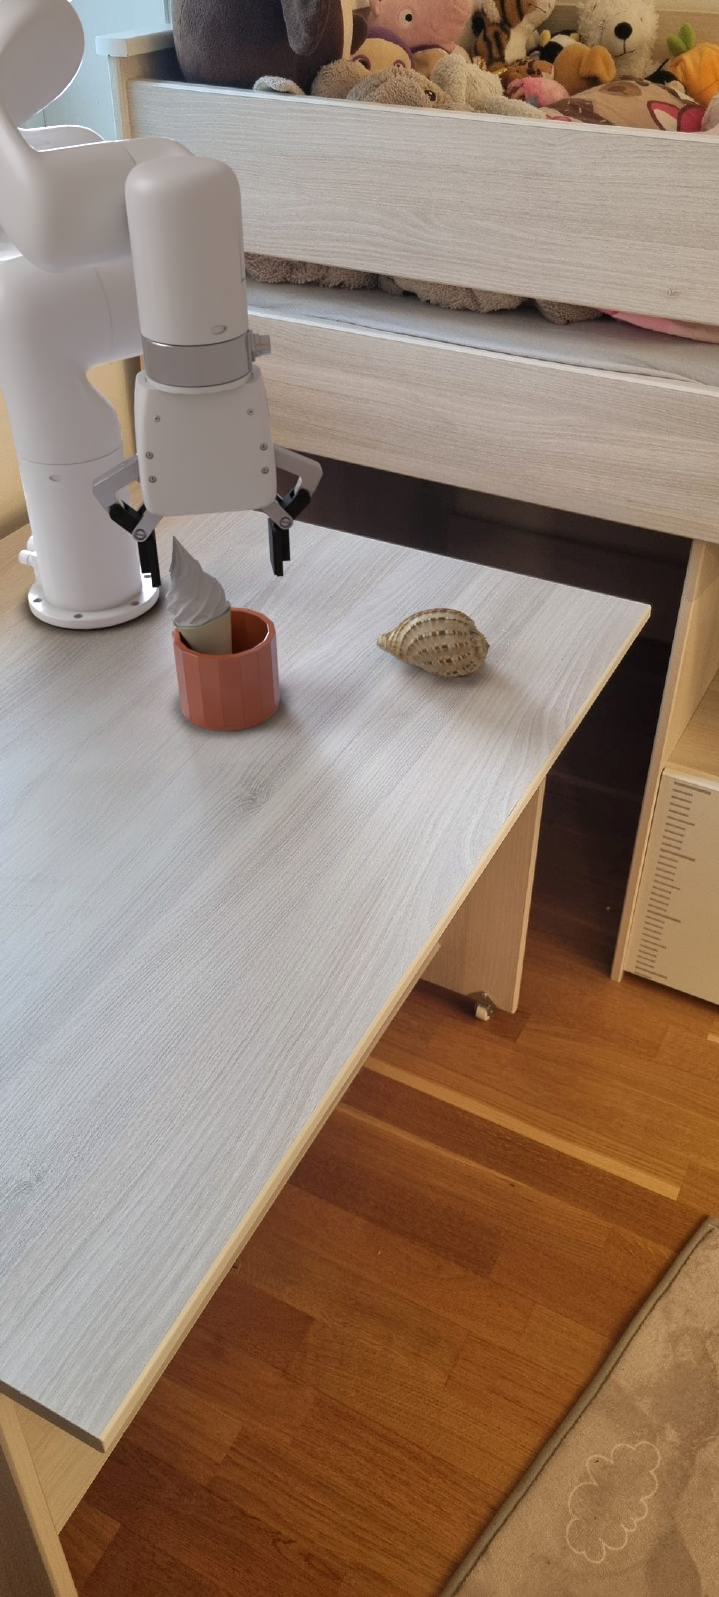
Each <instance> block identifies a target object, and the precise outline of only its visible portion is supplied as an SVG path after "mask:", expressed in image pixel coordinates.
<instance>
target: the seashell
mask: <svg viewBox="0 0 719 1597" xmlns="http://www.w3.org/2000/svg"><path fill="white" fill-rule="evenodd" d="M475 622H476V621H475V620H474V619H472V618H471V617H470V616H468V615H467V614H466V613H464V612H462V611H460V610H456V609H453V608H447V607H438V608H430V609H425V610H421V611H418V612H415V613H413V614H411V615H410V616H408V617H406V618H404V620H402V621H401V622H400V623H399V624H398V625H397V626H396V627H395V628H394V629H392V630H391V631H388V632H387V633H382V634H381V633H379V635H378V637H377V639H376V646H377V647H378V648H379V650H381V651H383V652H386V653H388V654H390V655H391V656H393V657H394V658H395V660H399V661H401V662H402V663H404V664H408V665H411V666H414V667H418V668H420V669H422V670H424V671H425V672H427V673H430V674H432V675H434V676H436V677H437V678H438V677H439V678H443V679H444V678H446V679H449V678H454V679H455V678H458V679H459V678H466V677H471V676H473V675H475V674H477V673H478V672H479V671H480V669H481V668H482V667H484V665H485V664H486V660H487V658H488V653H489V649H490V647H491V645H490V644H489V641H488V640H487V637H485V634H484V633H482V632H481V631H480V630H478V628H477V626H476V623H475Z"/></svg>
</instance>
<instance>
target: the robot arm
mask: <svg viewBox="0 0 719 1597" xmlns="http://www.w3.org/2000/svg"><path fill="white" fill-rule="evenodd" d="M71 1H73V0H0V261H3V262H0V388H1V391H2V395H3V399H4V403H5V407H6V410H7V415H8V419H9V424H10V429H11V435H12V440H13V445H14V449H15V453H16V454H15V455H16V460H17V464H18V468H19V474H20V479H21V485H22V488H23V489H22V490H23V495H24V500H25V505H26V510H27V515H28V522H29V525H30V531H31V535H30V537H29V538H28V539H27V542H26V549H22V550H21V551H20V552H19V554H18V555H17V556H18V557H17V558H18V559H17V560H18V562H19V563H20V564H22V565H25V566H28V567H31V568H33V572H34V577H35V581H34V583H33V584H32V585H31V586H30V588H29V590H28V593H27V600H28V606H29V609H30V611H31V613H32V614H33V615H34V616H35V617H36V618H37V619H38V620H40V621H42V622H44V623H45V624H49V625H51V626H54V627H58V628H59V627H60V628H63V629H71V630H92V629H93V630H94V629H102V628H107V627H108V628H109V627H112V626H116V625H120V624H124V623H126V622H129V621H131V620H134V619H136V618H138V617H140V616H141V615H143V614H145V613H146V612H148V611H149V610H150V609H151V608H152V607H153V606H154V605H155V604H156V603H157V601H158V599H159V597H160V587H161V586H162V580H161V572H160V563H159V554H158V553H159V552H158V546H157V538H156V537H157V536H156V529H155V528H156V527H157V526H158V525H159V523H160V522H161V521H162V519H163V518H165V517H187V516H199V515H200V516H201V515H211V514H223V513H235V512H236V513H237V512H245V511H253V510H259V509H260V510H262V512H264V514H265V515H266V516H267V531H268V532H267V533H268V545H269V548H268V549H269V561H270V565H271V569H272V572H273V575H274V576H276V577H277V578H278V577H284V562H291V543H290V529H291V528H292V527H293V525H294V521H295V520H296V519H297V518H298V516H299V515H300V514H301V513H302V512H303V511H304V510H305V509H306V508H307V507H308V506H309V505H310V503H311V501H312V496H313V495H314V493H315V491H316V489H317V487H318V486H319V483H320V481H321V479H322V477H323V475H324V473H323V469H322V467H321V464H320V463H319V462H318V461H316V460H314V459H312V458H310V457H307V456H304V455H302V454H299V453H298V452H295V451H292V450H290V449H288V448H285V447H283V446H281V445H278V444H276V443H274V438H273V430H272V422H271V421H272V420H271V415H270V409H269V405H268V398H267V391H266V386H265V382H264V378H263V375H262V371H261V368H260V366H258V365H256V364H255V362H256V358H261V356H268V355H269V356H271V354H272V347H271V344H272V343H271V337H270V335H269V334H259V333H254V332H253V329H250V328H249V312H248V297H247V295H248V294H247V293H248V292H247V279H246V278H247V277H246V260H245V245H244V228H243V226H244V225H243V212H242V211H243V210H242V196H241V187H240V182H239V179H238V177H237V174H236V173H235V171H234V169H233V168H232V167H231V166H229V165H228V164H227V163H226V162H223V161H221V160H218V159H215V158H212V157H204V156H197V155H195V154H194V153H193V152H192V151H191V150H190V149H188V147H186V146H185V145H183V144H182V143H180V142H179V141H178V140H175V139H173V138H170V137H165V136H143V137H135V138H128V139H120V140H105V138H103V136H102V135H100V134H99V133H97V132H96V131H94V130H92V129H91V128H89V127H84V126H81V125H75V124H73V125H71V124H69V125H68V124H64V125H63V124H62V125H53V126H46V127H45V126H44V127H36V128H28V129H27V128H21V126H22V125H24V124H25V123H27V122H28V121H29V120H30V119H32V118H33V117H34V116H36V115H37V114H39V113H40V112H41V111H43V110H44V109H45V108H46V107H48V106H49V105H50V104H51V103H53V102H54V101H55V100H56V99H58V98H59V97H60V96H61V95H63V93H64V92H65V91H66V90H67V89H68V88H69V87H70V85H71V84H72V83H73V80H74V79H76V78H75V77H76V76H77V74H78V72H79V70H80V68H81V66H82V62H83V60H84V54H85V46H86V42H85V32H84V28H83V24H82V21H81V19H80V17H79V15H78V13H77V11H76V9H75V8H74V6H73V5H72V4H71ZM139 356H143V362H144V369H143V370H141V371H139V372H137V373H136V375H135V380H134V397H133V398H134V399H133V400H134V402H133V404H134V405H133V408H134V409H133V412H134V432H135V446H136V453H134V454H133V455H131V456H130V457H128V458H126V455H125V448H124V440H123V433H122V426H121V422H120V419H119V418H120V417H119V415H118V413H117V411H116V409H115V407H114V406H113V404H112V403H111V402H110V400H109V399H108V398H107V397H106V396H105V395H104V394H103V393H102V392H101V391H100V390H98V389H97V387H95V386H94V385H93V384H92V383H91V381H90V380H89V379H88V377H87V372H88V371H89V370H92V369H94V368H98V367H101V366H104V365H106V364H111V363H115V362H120V361H122V360H123V361H124V360H127V359H131V358H136V357H139ZM277 468H278V469H280V470H283V471H286V472H288V473H290V474H293V475H295V476H297V477H298V479H297V483H296V484H295V485H294V486H292V488H291V489H290V490H289V491H288V493H287V494H286V495H285V496H284V497H282V496H281V495H280V494H279V493H278V492H277V490H278V483H277ZM137 479H139V483H140V484H139V485H140V490H141V495H142V501H141V503H140V504H139V505H138V507H137V508H136V509H134V507H133V506H132V499H131V498H132V497H131V491H130V484H131V483H132V482H134V481H135V480H137Z"/></svg>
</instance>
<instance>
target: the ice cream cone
mask: <svg viewBox="0 0 719 1597" xmlns="http://www.w3.org/2000/svg"><path fill="white" fill-rule="evenodd" d="M168 568H169V569H168V572H169V573H170V580H171V581H170V586H169V590H168V591H167V593H166V594H165V596H164V597H165V600H167V601H169V603H168V604H167V605H166V611H167V612H169V613H170V614H171V615H173V617H172V618H171V621H172V625H173V627H174V628H175V627H177V628H178V630H179V631H180V632H181V634H182V635H183V636H184V638H185V639H186V641H187V642H188V643H189V645H190V646H191V648H192V649H193V650H194V651H196V652H199V653H201V654H210V655H228V654H232V637H231V613H230V610H231V607H233V605H232V603H231V602H230V601H229V600H227V599H226V594H225V593H226V592H225V589H224V587H223V585H222V584H221V582H220V580H217V578H216V577H215V576H214V575H211V574H209V573H207V572H206V571H204V570H203V568H202V566H201V563H200V561H199V560H198V559H196V558H194V557H193V555H192V554H190V552H189V551H188V550H187V549H186V548H185V547H184V545H183V544H182V543H181V542H180V541H179V540H178V538H176V536H175V535H172V551H171V562H170V565H169V567H168Z"/></svg>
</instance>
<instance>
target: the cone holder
mask: <svg viewBox="0 0 719 1597" xmlns="http://www.w3.org/2000/svg"><path fill="white" fill-rule="evenodd" d="M230 613H231V637H232V654H228V655H210V654H201V653H199V652H196V651H194V650H193V649H192V648H191V646H190V645H189V643H188V642H187V641H186V639H185V638H184V636H183V635H182V634H181V632H180V631H179V630H178V628H177V627H175V626H174V629H173V630H172V632H171V636H172V645H173V653H174V661H175V670H176V677H177V686H178V692H179V693H178V694H179V700H180V709H181V712H182V714H183V716H184V717H185V718H186V720H188V721H189V722H190V723H191V724H193V725H195V726H198V727H199V728H202V729H205V730H211V731H218V732H233V731H241V730H246V729H249V728H254V727H256V726H258V725H260V724H262V723H264V722H266V721H267V720H269V719H270V718H271V717H273V716H274V715H275V713H277V711H278V708H279V705H280V702H281V700H280V699H281V692H280V691H281V690H280V674H279V660H278V644H277V631H276V626H275V623H274V621H273V620H271V619H270V618H269V617H268V616H267V615H265V614H264V613H263V612H260V611H257V610H254V609H250V608H246V607H245V608H244V607H235V606H232V607H231V610H230Z"/></svg>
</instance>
